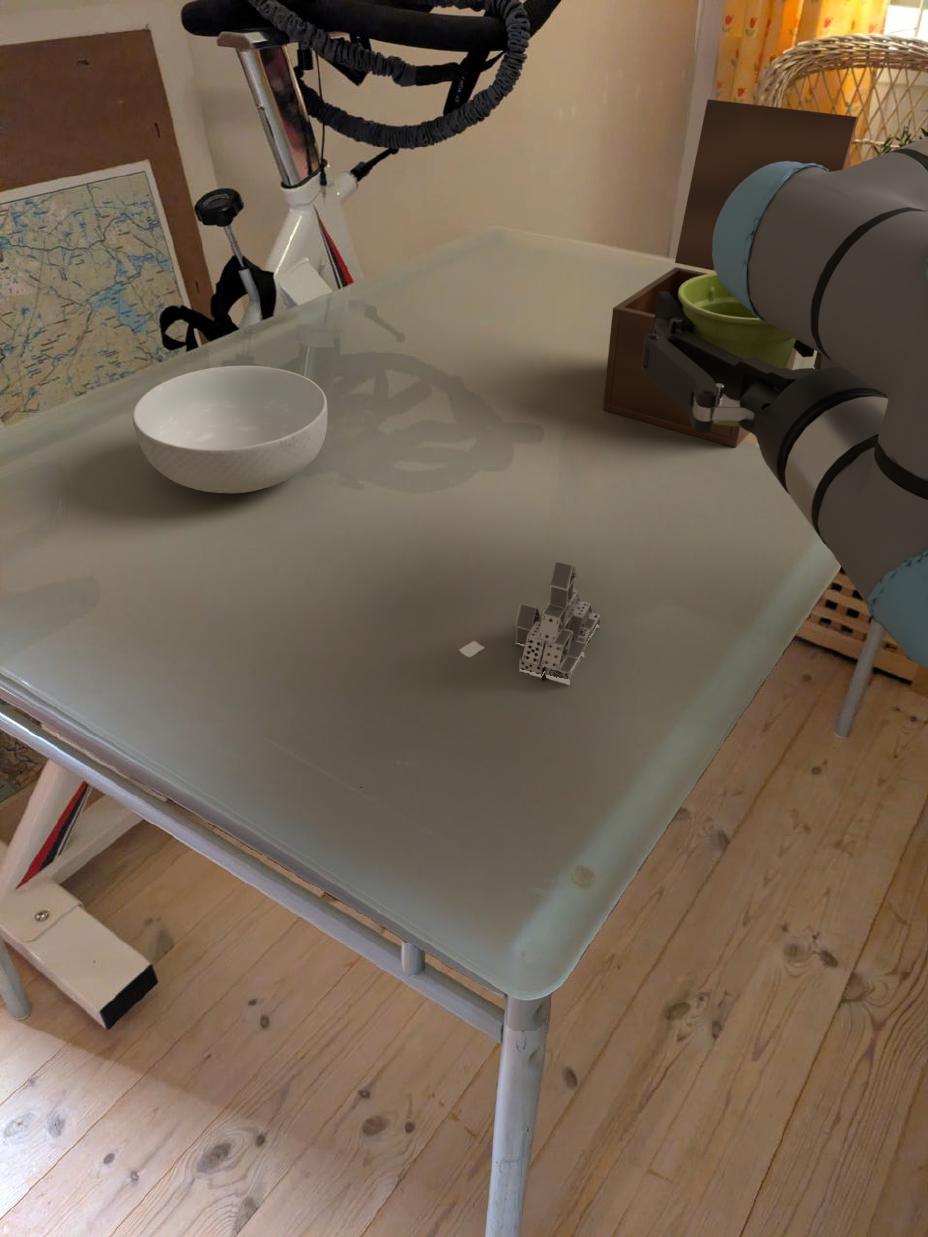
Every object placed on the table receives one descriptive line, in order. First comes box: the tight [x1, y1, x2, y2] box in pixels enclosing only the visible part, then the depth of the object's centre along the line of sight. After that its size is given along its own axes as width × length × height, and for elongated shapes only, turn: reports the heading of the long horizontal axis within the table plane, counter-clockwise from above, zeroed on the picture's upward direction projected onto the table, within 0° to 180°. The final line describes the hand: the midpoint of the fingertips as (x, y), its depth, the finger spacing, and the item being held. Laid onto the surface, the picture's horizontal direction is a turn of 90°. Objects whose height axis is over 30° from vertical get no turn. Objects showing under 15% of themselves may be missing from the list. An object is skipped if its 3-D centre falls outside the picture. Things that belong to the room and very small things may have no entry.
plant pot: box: [678, 272, 796, 426], centre depth 68 cm, size 9×9×9 cm
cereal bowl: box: [132, 365, 329, 494], centre depth 87 cm, size 17×17×7 cm
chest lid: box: [674, 98, 860, 272], centre depth 95 cm, size 15×15×1 cm
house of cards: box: [514, 560, 602, 681], centre depth 68 cm, size 9×9×8 cm
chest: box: [602, 266, 797, 448], centre depth 97 cm, size 15×15×11 cm
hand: (719, 307), depth 71 cm, fingers closed on plant pot, 8 cm apart
